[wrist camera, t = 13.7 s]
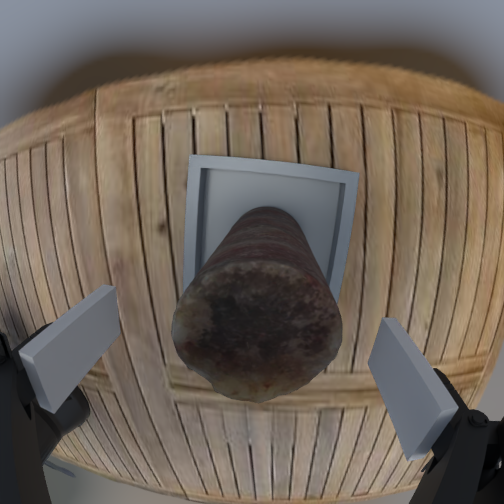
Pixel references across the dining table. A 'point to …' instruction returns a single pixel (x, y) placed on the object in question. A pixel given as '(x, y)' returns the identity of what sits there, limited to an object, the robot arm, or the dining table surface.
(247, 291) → the brown rough cylinder
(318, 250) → the tray
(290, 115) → the dining table surface
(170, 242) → the dining table surface
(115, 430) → the dining table surface
